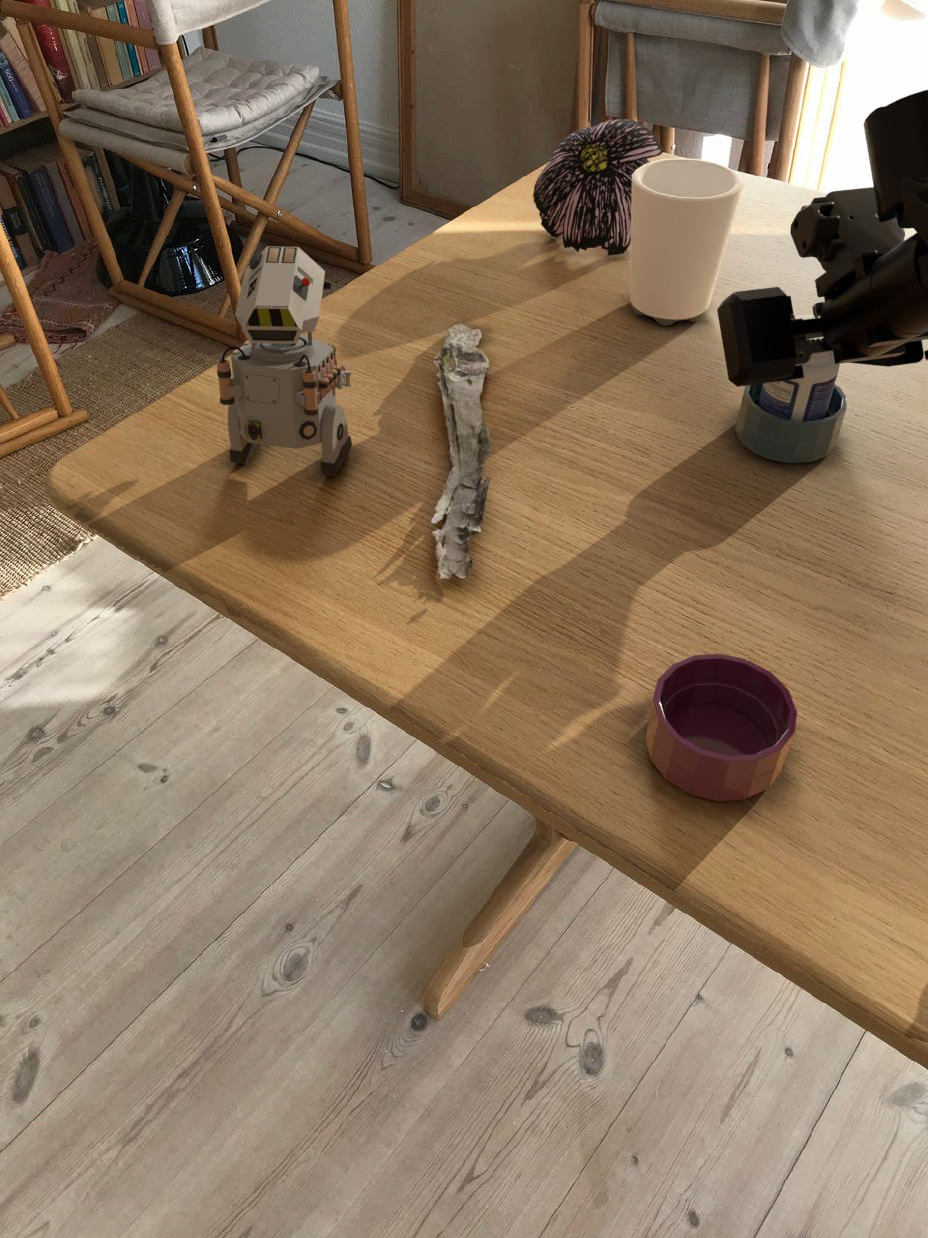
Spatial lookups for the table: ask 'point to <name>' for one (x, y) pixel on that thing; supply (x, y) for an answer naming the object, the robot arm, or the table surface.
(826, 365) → the pill bottle
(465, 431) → the driftwood
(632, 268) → the cup
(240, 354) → the figurine
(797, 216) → the robot arm
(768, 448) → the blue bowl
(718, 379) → the table surface
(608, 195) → the decorative flower
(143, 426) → the table surface
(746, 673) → the plum bowl
